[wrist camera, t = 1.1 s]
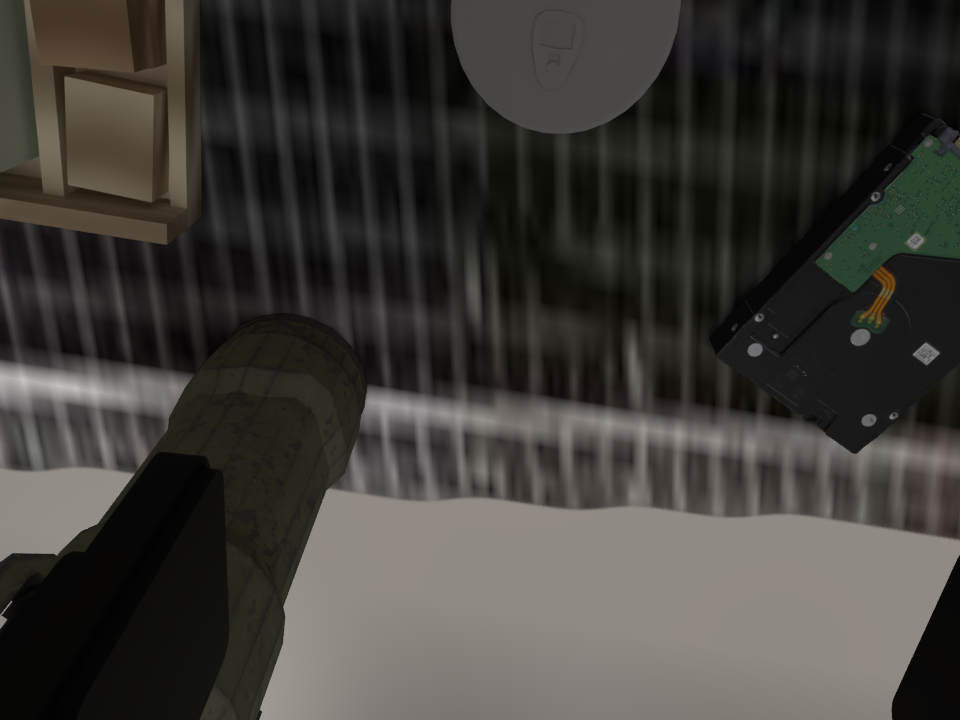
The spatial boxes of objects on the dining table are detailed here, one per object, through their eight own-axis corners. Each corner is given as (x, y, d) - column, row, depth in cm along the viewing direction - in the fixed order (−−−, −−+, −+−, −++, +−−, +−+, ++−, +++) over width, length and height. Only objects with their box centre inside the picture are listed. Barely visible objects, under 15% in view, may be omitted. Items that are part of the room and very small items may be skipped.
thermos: (259, 259, 43) (-455, 1091, 12) (419, 403, 46) (195, 1339, 15) (161, 360, 46) (-610, 1230, 15) (318, 488, 49) (-40, 1410, 18)
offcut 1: (45, -70, 34) (18, -71, 32) (141, -61, 34) (119, -62, 32) (63, 58, 36) (39, 64, 34) (153, 66, 36) (134, 73, 34)
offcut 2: (86, 70, 38) (64, 76, 36) (171, 88, 38) (153, 95, 36) (88, 174, 40) (67, 184, 38) (168, 191, 40) (151, 202, 39)
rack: (-53, -133, 35) (-127, -143, 31) (199, -91, 36) (157, -95, 32) (-12, 182, 42) (-69, 207, 38) (201, 216, 42) (167, 244, 38)
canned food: (482, 98, 39) (466, 149, 29) (457, -93, 35) (429, -108, 25) (645, 75, 38) (686, 121, 28) (636, -122, 34) (679, -149, 24)
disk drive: (841, 430, 47) (1063, 227, 40) (858, 458, 44) (1098, 246, 38) (702, 335, 44) (915, 104, 38) (712, 359, 42) (942, 116, 36)
